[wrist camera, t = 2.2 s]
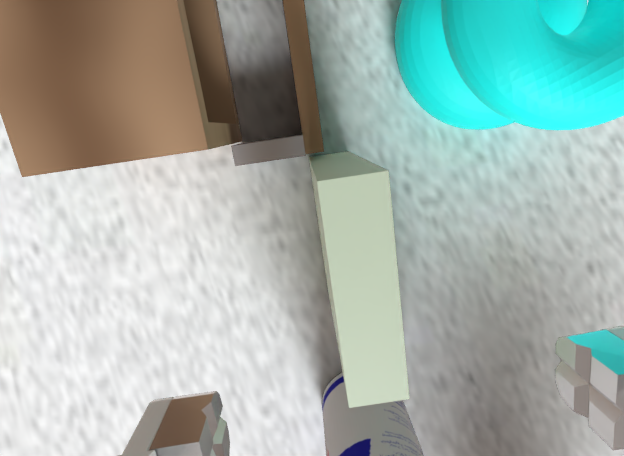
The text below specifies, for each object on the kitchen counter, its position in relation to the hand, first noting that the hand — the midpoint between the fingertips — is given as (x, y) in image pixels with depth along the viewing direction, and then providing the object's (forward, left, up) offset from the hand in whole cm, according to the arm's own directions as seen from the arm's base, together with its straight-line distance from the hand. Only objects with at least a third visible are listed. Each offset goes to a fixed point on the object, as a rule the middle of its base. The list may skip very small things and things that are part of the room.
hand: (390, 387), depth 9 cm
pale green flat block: (0, 0, -16) cm, 16 cm away
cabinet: (+6, -11, -16) cm, 20 cm away
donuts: (-10, -10, -16) cm, 21 cm away
